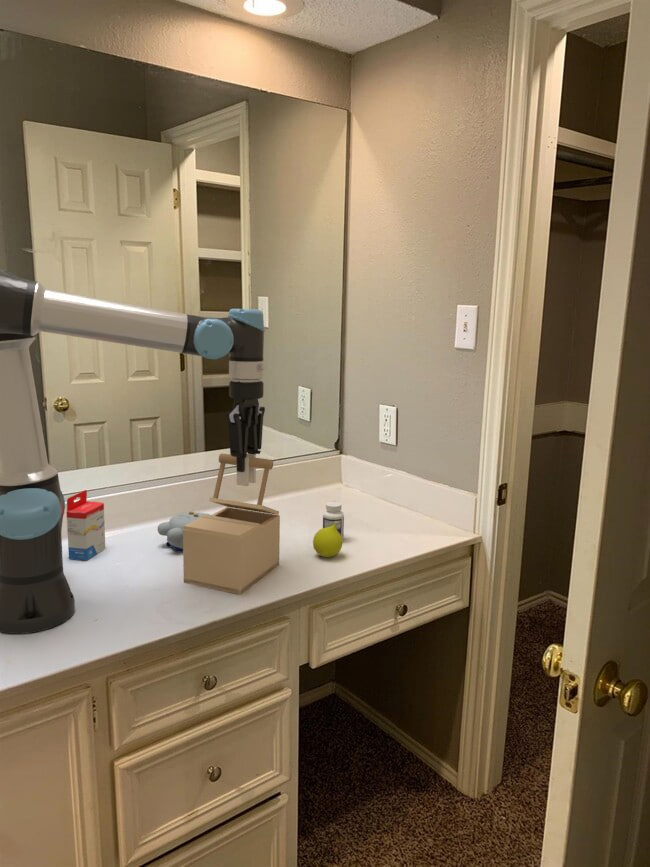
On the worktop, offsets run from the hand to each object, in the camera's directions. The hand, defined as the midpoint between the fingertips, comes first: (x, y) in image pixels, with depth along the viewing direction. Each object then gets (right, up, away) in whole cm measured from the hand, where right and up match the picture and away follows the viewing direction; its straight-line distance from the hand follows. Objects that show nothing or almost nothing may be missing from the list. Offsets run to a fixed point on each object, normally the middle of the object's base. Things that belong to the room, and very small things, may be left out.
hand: (246, 483), depth 148 cm
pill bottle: (+20, -17, +21) cm, 34 cm away
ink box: (-39, -18, +8) cm, 43 cm away
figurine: (-14, -17, +17) cm, 27 cm away
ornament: (+18, -19, +10) cm, 28 cm away
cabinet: (-3, -20, -1) cm, 20 cm away
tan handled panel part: (-1, -6, 0) cm, 6 cm away
